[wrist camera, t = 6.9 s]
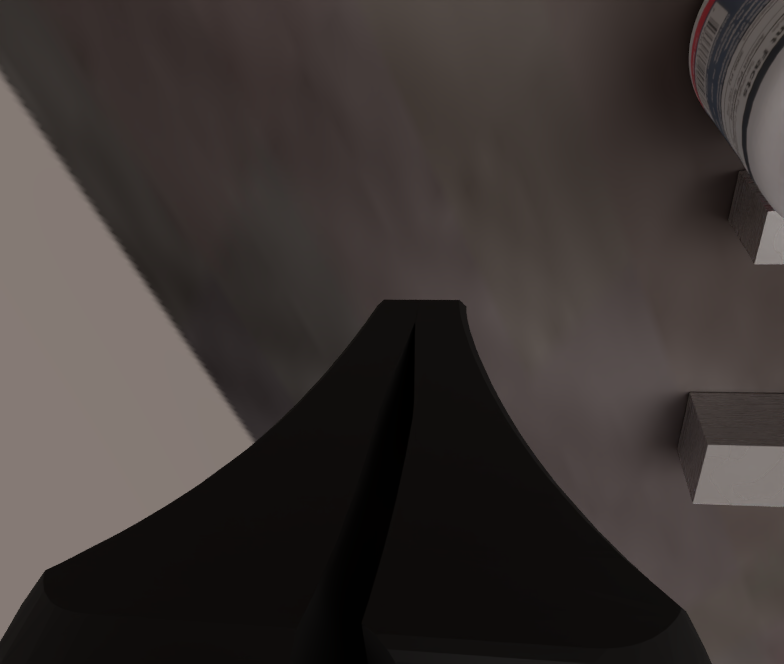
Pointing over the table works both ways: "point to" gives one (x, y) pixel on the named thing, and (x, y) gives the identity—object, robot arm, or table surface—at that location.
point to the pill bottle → (744, 84)
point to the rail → (739, 396)
